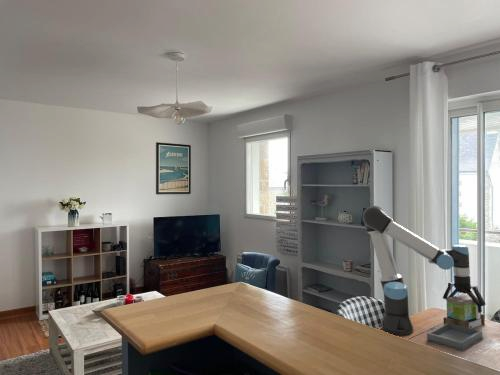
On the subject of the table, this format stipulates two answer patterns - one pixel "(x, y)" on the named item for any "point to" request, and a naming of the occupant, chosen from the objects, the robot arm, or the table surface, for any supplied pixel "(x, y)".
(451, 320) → the walnut holder
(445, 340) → the charcoal tray
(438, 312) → the table surface
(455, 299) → the tea box
